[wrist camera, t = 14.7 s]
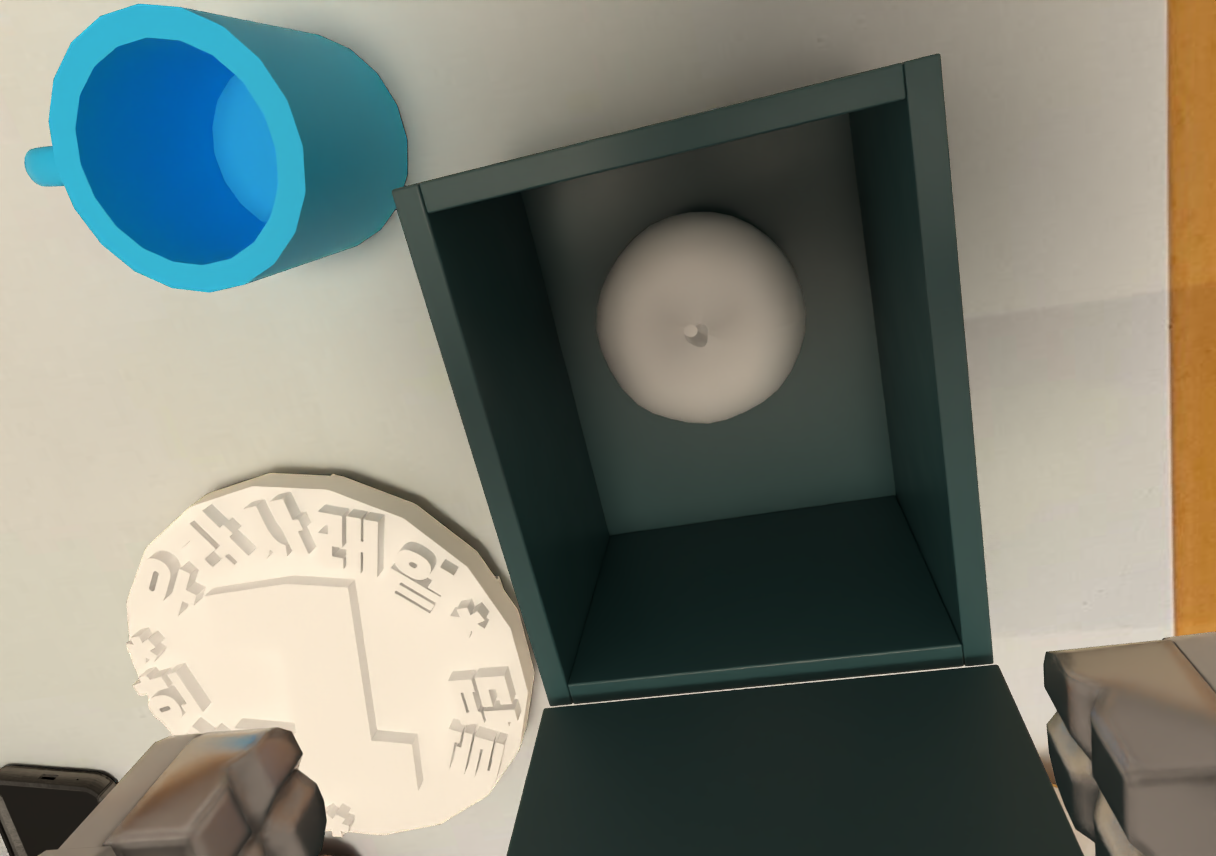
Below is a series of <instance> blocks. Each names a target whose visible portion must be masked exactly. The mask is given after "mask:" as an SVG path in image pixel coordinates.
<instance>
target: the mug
mask: <svg viewBox="0 0 1216 856" xmlns="http://www.w3.org/2000/svg"><path fill="white" fill-rule="evenodd" d="M49 127H50V133H51V140H52V146H47V147H39V148H34V149H31V150H29V151H28V152H27V154H26V156H25V162H24V163H25V168H26V171H27V173H28V175H29V176H30V178H31V179H32V180H33V181H34V182H35V183H36V184H39V185H41V186H65V188H66V191H67V193H68V195H69V197H70V200H71V202H72V204H73V207H74V209H75V210H76V211H77V212H78V214H79V215H80V216H81V218H82V219H83V220H84V222H85V223H86V224H87V226H88V227H89V228H90V230H91V231H92V232H93V234H94V235H95V236H96V238H97V239H98V240H99V242H100V243H101V244H102V245H103V246H104V247H106V248H107V249H108V250H109V251H110V252H112V253H113V254H114V255H115V256H117V257H118V258H119V259H120V260H122V261H123V262H124V263H125V264H126V265H128V266H129V267H130V268H131V269H133V270H134V271H135V272H137V273H140V274H142V275H144V276H146V277H149V278H151V279H153V280H155V281H158V282H160V283H162V284H164V285H167V286H169V287H171V288H176V289H185V290H193V291H202V292H214V291H218V290H223V289H227V288H231V287H236V286H240V285H244V284H247V283H250V282H253V281H256V280H259V279H262V278H265V277H268V276H271V275H274V274H276V273H279V272H282V271H285V270H288V269H291V268H294V267H297V266H300V265H303V264H305V263H308V262H311V261H314V260H317V259H320V258H323V257H326V256H329V255H332V254H335V253H337V252H340V251H343V250H346V249H349V248H352V247H355V246H357V245H359V244H360V243H362V242H363V241H365V240H366V239H368V238H369V237H371V236H372V235H374V234H375V233H377V232H378V231H380V230H381V229H382V227H383V226H384V224H385V223H386V222H387V220H388V219H389V217H390V216H391V215H392V213H393V212H394V210H395V209H396V205H395V202H394V199H393V195H392V190H393V189H396V188H400V187H404V184H405V181H406V178H407V174H408V172H407V137H406V134H405V130H404V127H403V124H402V120H401V117H400V114H399V110H398V107H397V104H396V103H395V101H394V99H393V98H392V96H391V95H390V93H389V91H388V90H387V88H386V87H385V85H384V83H383V82H382V80H381V79H380V77H379V75H378V74H377V73H376V72H375V71H374V70H373V69H372V68H371V67H370V66H368V65H367V64H366V63H365V62H364V61H363V60H362V59H361V58H360V57H358V56H357V55H356V54H355V53H354V52H353V51H352V50H351V49H349V48H346V47H344V46H342V45H340V44H338V43H335V42H333V41H331V40H329V39H327V38H324V37H322V36H320V35H317V34H312V33H307V32H302V31H297V30H292V29H287V28H282V27H277V26H272V25H267V24H262V23H257V22H252V21H247V20H242V19H237V18H232V17H227V16H222V15H217V14H212V13H207V12H202V11H197V10H192V9H187V8H182V7H172V6H160V5H148V4H136V5H133V6H130V7H127V8H124V9H121V10H118V11H114V12H111V13H108V14H105V15H102V16H100V17H99V18H98V19H97V20H96V21H94V22H93V23H92V24H91V25H90V26H89V27H88V28H87V29H86V30H84V31H83V32H82V33H81V34H80V35H79V36H78V37H77V38H76V39H74V40H73V41H72V42H71V44H70V46H69V48H68V50H67V52H66V54H65V56H64V59H63V61H62V63H61V65H60V67H59V69H58V71H57V73H56V75H55V77H54V80H53V89H52V97H51V105H50V114H49Z"/></svg>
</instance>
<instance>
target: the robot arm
mask: <svg viewBox="0 0 1216 856" xmlns="http://www.w3.org/2000/svg"><path fill="white" fill-rule="evenodd" d="M1044 687H1045V689H1046V691H1047V693H1048V694H1049V696H1050V698H1051V700H1052V702H1053V704H1054V706H1055V708H1056V709H1057V712H1056V713H1055V715H1054V716H1053V717H1052V718H1051V719H1050V721H1049V722H1048V723H1047V735H1048V745H1049V754H1050V759H1051V763H1052V767H1053V772H1054V776H1055V781H1056V784H1057V787H1058V790H1059V792H1060V795H1061V798H1062V800H1063V803H1064V806H1065V808H1066V810H1067V812H1068V814H1069V817H1070V819H1071V821H1072V823H1073V825H1074V827H1075V829H1076V830H1077V831H1079V832H1080V833H1081V834H1083V835H1084V836H1086V837H1087V838H1089V839H1090V840H1092V841H1093V842H1094V843H1095V856H1216V632H1208V633H1200V634H1192V635H1184V636H1176V637H1167V638H1163V639H1162V640H1155V641H1145V642H1136V643H1126V644H1116V645H1107V646H1097V647H1088V648H1078V649H1068V650H1059V651H1049V652H1046V655H1045V660H1044ZM302 756H303V752H302V750H301V749H300V747H299V745H298V743H297V741H296V739H295V737H294V735H293V733H292V731H289V730H285V729H282V728H279V727H273V728H259V729H245V730H231V731H217V732H206V733H204V734H200V733H198V734H185V735H173V736H169V737H167V738H164V739H162V740H160V741H157V742H155V743H154V744H153V745H152V746H151V747H150V748H149V749H148V751H147V752H146V753H145V754H144V755H143V756H142V757H141V758H140V759H139V760H138V762H137V763H136V764H135V765H134V766H133V767H132V768H131V769H130V770H129V771H128V773H127V774H126V775H125V776H124V777H123V778H122V779H121V780H120V781H119V782H118V784H117V785H116V786H115V787H114V788H113V789H112V790H111V791H110V792H109V793H108V795H107V796H106V797H105V798H104V799H103V800H102V801H101V802H100V803H99V805H98V806H97V807H96V808H95V809H94V810H93V811H92V812H91V813H90V814H89V816H88V817H87V818H86V819H85V820H84V821H83V822H82V823H81V824H80V825H79V827H78V828H77V829H76V830H75V831H74V832H73V833H72V834H71V835H70V836H69V838H68V839H67V840H66V841H65V842H64V843H63V844H62V845H61V846H60V848H59V849H57V850H46V851H44V852H43V853H41V854H40V855H38V856H318V855H319V853H320V851H321V849H322V846H323V840H324V834H325V829H326V823H327V818H326V811H325V803H324V799H323V797H322V794H321V792H320V790H319V788H318V785H317V783H315V782H314V781H313V780H311V779H310V778H309V777H308V776H306V775H305V774H304V773H302V772H301V771H300V770H298V769H299V765H300V762H301V759H302Z"/></svg>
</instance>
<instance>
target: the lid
mask: <svg viewBox="0 0 1216 856" xmlns="http://www.w3.org/2000/svg"><path fill="white" fill-rule="evenodd" d="M507 856H1084V854H1083V852H1082V850H1081V847H1080V845H1079V843H1078V841H1077V839H1076V836H1075V834H1074V832H1073V830H1072V828H1071V825H1070V823H1069V821H1068V819H1067V816H1066V814H1065V812H1064V810H1063V808H1062V805H1061V803H1060V801H1059V799H1058V796H1057V794H1056V792H1055V790H1054V788H1053V785H1052V783H1051V781H1050V779H1049V777H1048V774H1047V772H1046V770H1045V768H1044V765H1043V763H1042V761H1041V759H1040V757H1039V754H1038V752H1037V750H1036V748H1035V745H1034V743H1033V741H1032V739H1031V737H1030V734H1029V732H1028V730H1027V728H1026V726H1025V723H1024V721H1023V719H1022V717H1021V714H1020V712H1019V710H1018V708H1017V706H1016V703H1015V701H1014V699H1013V697H1012V694H1011V692H1010V690H1009V688H1008V686H1007V683H1006V681H1005V679H1004V677H1003V675H1002V672H1001V670H1000V668H999V666H998V665H989V666H978V667H968V668H958V669H948V670H937V671H927V672H917V673H906V674H896V675H886V676H875V677H865V678H855V679H844V680H834V681H824V682H813V683H803V684H793V685H782V686H772V687H762V688H751V689H741V690H731V691H720V692H710V693H700V694H689V695H679V696H669V697H658V698H648V699H638V700H628V701H617V702H607V703H597V704H586V705H576V706H566V707H555V708H545V709H544V710H543V714H542V718H541V722H540V726H539V730H538V734H537V738H536V742H535V746H534V750H533V754H532V758H531V762H530V766H529V769H528V773H527V777H526V781H525V785H524V789H523V793H522V797H521V801H520V805H519V809H518V813H517V817H516V821H515V825H514V829H513V833H512V837H511V840H510V844H509V848H508V852H507Z"/></svg>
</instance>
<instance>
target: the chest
mask: <svg viewBox="0 0 1216 856" xmlns="http://www.w3.org/2000/svg"><path fill="white" fill-rule="evenodd" d="M392 195H393V199H394V202H395V205H396V208H397V212H398V215H399V218H400V221H401V225H402V228H403V231H404V234H405V238H406V241H407V244H408V247H409V251H410V254H411V257H412V260H413V264H414V267H415V270H416V273H417V276H418V280H419V283H420V286H421V289H422V293H423V296H424V299H425V302H426V306H427V309H428V312H429V315H430V319H431V322H432V325H433V328H434V332H435V335H436V338H437V341H438V345H439V348H440V351H441V354H442V357H443V361H444V364H445V367H446V370H447V374H448V377H449V380H450V383H451V387H452V390H453V393H454V396H455V400H456V403H457V406H458V409H459V413H460V416H461V419H462V422H463V425H464V429H465V432H466V435H467V438H468V442H469V445H470V448H471V451H472V455H473V458H474V461H475V464H476V468H477V471H478V474H479V477H480V481H481V484H482V487H483V490H484V494H485V497H486V500H487V503H488V506H489V510H490V513H491V516H492V519H493V523H494V526H495V529H496V532H497V536H498V539H499V542H500V545H501V549H502V552H503V555H504V558H505V562H506V565H507V568H508V571H509V574H510V578H511V581H512V584H513V587H514V591H515V594H516V597H517V600H518V604H519V607H520V610H521V613H522V617H523V620H524V623H525V626H526V630H527V633H528V636H529V639H530V643H531V646H532V649H533V652H534V655H535V659H536V662H537V665H538V668H539V672H540V675H541V678H542V681H543V685H544V688H545V691H546V694H547V698H548V701H549V704H550V706H558V705H568V704H572V703H574V704H580V703H590V702H601V701H611V700H621V699H631V698H642V697H652V696H662V695H673V694H683V693H693V692H703V691H714V690H724V689H734V688H745V687H755V686H765V685H775V684H786V683H796V682H806V681H816V680H827V679H837V678H847V677H858V676H868V675H878V674H888V673H899V672H909V671H919V670H929V669H940V668H950V667H960V666H964V665H965V666H974V665H984V664H993V651H992V640H991V628H990V617H989V606H988V594H987V583H986V571H985V560H984V548H983V537H982V525H981V514H980V502H979V491H978V480H977V468H976V457H975V445H974V434H973V422H972V411H971V399H970V388H969V376H968V365H967V354H966V342H965V331H964V319H963V308H962V296H961V285H960V273H959V262H958V250H957V239H956V228H955V216H954V205H953V193H952V182H951V170H950V159H949V147H948V136H947V124H946V113H945V102H944V90H943V79H942V67H941V56H940V54H934V55H930V56H925V57H921V58H917V59H913V60H909V61H905V62H902V63H897V64H893V65H889V66H885V67H881V68H877V69H873V70H869V71H865V72H861V73H857V74H853V75H849V76H845V77H841V78H837V79H833V80H829V81H825V82H821V83H817V84H813V85H809V86H805V87H801V88H797V89H793V90H789V91H785V92H781V93H777V94H773V95H769V96H765V97H761V98H757V99H753V100H749V101H745V102H741V103H737V104H733V105H729V106H725V107H721V108H717V109H713V110H709V111H705V112H701V113H697V114H693V115H689V116H685V117H681V118H677V119H673V120H669V121H665V122H661V123H657V124H653V125H649V126H645V127H641V128H637V129H633V130H629V131H625V132H621V133H617V134H613V135H609V136H605V137H601V138H597V139H593V140H589V141H585V142H581V143H577V144H573V145H569V146H565V147H561V148H557V149H552V150H548V151H544V152H540V153H536V154H532V155H528V156H524V157H520V158H516V159H512V160H508V161H504V162H500V163H496V164H492V165H488V166H484V167H480V168H476V169H472V170H468V171H464V172H460V173H456V174H452V175H448V176H444V177H440V178H436V179H432V180H428V181H424V182H421V183H416V184H412V185H408V186H404V187H400V188H396V189H393V190H392ZM688 212H715V213H720V214H725V215H730V216H733V217H736V218H738V219H740V220H742V221H745V222H747V223H749V224H751V225H753V226H754V227H756V228H757V229H758V230H760V231H761V232H763V233H764V234H765V235H767V236H768V237H769V238H770V239H771V240H772V241H773V242H774V243H775V244H776V245H777V246H778V247H779V248H780V249H781V250H782V251H783V252H784V254H785V255H786V257H787V259H788V260H789V262H790V264H791V265H792V267H793V268H794V270H795V273H796V276H797V278H798V281H799V284H800V286H801V289H802V293H803V299H804V304H805V310H806V317H805V333H804V337H803V341H802V345H801V348H800V352H799V355H798V357H797V359H796V361H795V363H794V366H793V368H792V370H791V372H790V374H789V375H788V377H787V378H786V379H785V381H784V382H783V384H782V385H781V386H780V388H779V389H778V390H777V391H776V392H774V393H773V394H772V395H771V396H770V397H769V398H767V399H766V400H765V401H764V402H762V403H760V404H759V405H757V406H755V407H753V408H751V409H750V410H748V411H746V412H744V413H742V414H739V415H737V416H734V417H732V418H729V419H727V420H722V421H718V422H713V423H708V424H704V423H687V422H683V421H678V420H673V419H669V418H666V417H663V416H660V415H656V414H653V413H651V412H650V411H648V410H646V409H644V408H643V407H641V406H639V405H637V404H636V403H635V402H634V401H633V399H632V398H631V397H630V396H629V395H628V394H627V393H626V392H625V391H624V390H623V389H622V388H621V386H620V385H619V383H618V382H617V380H616V378H615V377H614V375H613V374H612V372H611V371H610V369H609V367H608V364H607V362H606V360H605V358H604V356H603V353H602V351H601V347H600V343H599V339H598V335H597V306H598V301H599V297H600V292H601V289H602V287H603V284H604V282H605V280H606V277H607V275H608V273H609V271H610V270H611V268H612V266H613V265H614V263H615V262H616V260H617V258H618V257H619V255H620V254H621V253H622V252H623V250H624V249H625V248H626V247H627V246H628V245H629V243H630V242H631V241H632V240H633V239H634V238H635V237H636V236H637V235H639V234H640V233H641V232H642V231H644V230H645V229H646V228H647V227H649V226H650V225H652V224H654V223H656V222H658V221H661V220H663V219H665V218H667V217H669V216H674V215H679V214H683V213H688Z"/></svg>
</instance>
